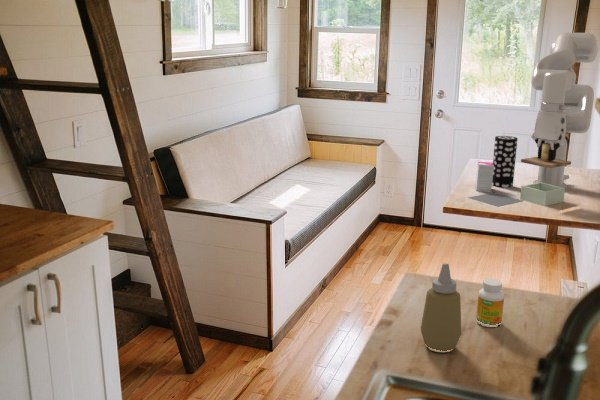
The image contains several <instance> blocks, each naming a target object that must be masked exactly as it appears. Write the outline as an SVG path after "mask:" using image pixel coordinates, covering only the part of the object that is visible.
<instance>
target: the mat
mask: <svg viewBox="0 0 600 400" xmlns="http://www.w3.org/2000/svg"><path fill="white" fill-rule="evenodd" d="M467 199H470V200H474V201H478V202H481V203H484V204H487V205H491V206H495V207H497V208H498V207H503V206H508V205H511V204H512V205H513V204H517V203H521V202H523V200H521V199H520V198H519V199H518V198H515V197H511V196H508V195H503V194H501V193H496V192H487V193H483V194H479V195H473V196H469V197H467Z"/></svg>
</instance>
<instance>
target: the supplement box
mask: <svg viewBox="0 0 600 400" xmlns="http://www.w3.org/2000/svg"><path fill="white" fill-rule="evenodd" d="M476 168H477V169H476V177H475V186H474V189H475V192H482V193H483V192H484V193H485V192H487V193H492V187H493V186H492V179H493V170H494V165H493V161H492V162H488V161H477V167H476Z"/></svg>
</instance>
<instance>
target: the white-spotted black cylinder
mask: <svg viewBox="0 0 600 400" xmlns="http://www.w3.org/2000/svg"><path fill="white" fill-rule="evenodd" d="M518 139H519V138H518V137H516V136H511V135H497V136H495V137H494V147H493V159H492V163H493V165H494V170H493V179H492V187H495V188H503V189H504V188H505V189H508V188H512V187H513V186H514V176H515V168H516V167H515V166H516V160H517V159H516V158H517V147H518Z"/></svg>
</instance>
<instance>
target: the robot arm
mask: <svg viewBox="0 0 600 400" xmlns="http://www.w3.org/2000/svg"><path fill="white" fill-rule="evenodd" d="M598 50H599V49H598V40H597V38H596V36H595V34H593V33H591V32H564V33H563V32H562V33H561V34H559V35H558V36H557V37H556V39H555V41H554V42H552V43H551V45H550V48H549V54H547V55H546V56H545V57H543V58H540V59H539V60H538V61H537V62H536V64H535V67H534V69H533V72H532V75H531V86H532V89H534V90H536V91H541V92H542V93H541V98H540V99H541V102H540V110H538V113H537V116H536V120H535V123H534V129H533V130H534V132H533V133H532V135H531V136H530V137H531V139H532V140H533V141H534V143H535V144H536V146H537V148H538V149H537V157H538V159H541V152H542V143H551V149H550V150H549V154H548V161H552V160H555V159H560V160H565V161H567V160H566V158H567V151H568V141H567V139H566V136H567V135H566V133H570V134H584V133H585V134H586V133H588V130H589V129H590V126H591V120H592V114H593V106H594V100H595V99H594V98H595V92H594V87H593V86H591V85H588V84H581V83H580V84H577V83H576V81H577V80H576V79H577V74H576V72H575V70H574V69H573V68H572V66H574V64H575V63H582V64H583V63H585V64H586V63H587V64H589V63H593V62H594V61H595V60H596V59H597V58H596V57H597V55H598ZM565 167H566V165H565V166H560V167H554V168H546V167H541V166H538V173H537V179H536V180H533V181H532V184H534V183H539V182H541V183H545V184H549V185H553V186H557V187H562V188H565V189H567V183H565V182H564V181H566V180H569V179H570V175H569V174H565Z"/></svg>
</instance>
